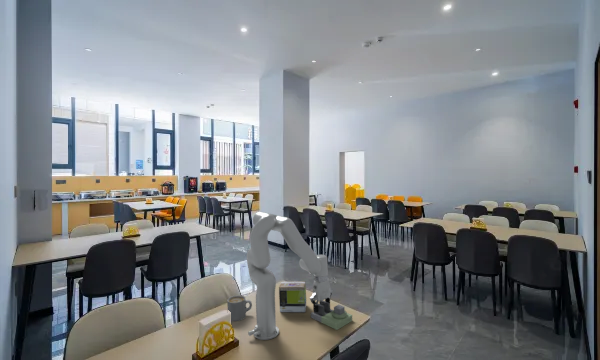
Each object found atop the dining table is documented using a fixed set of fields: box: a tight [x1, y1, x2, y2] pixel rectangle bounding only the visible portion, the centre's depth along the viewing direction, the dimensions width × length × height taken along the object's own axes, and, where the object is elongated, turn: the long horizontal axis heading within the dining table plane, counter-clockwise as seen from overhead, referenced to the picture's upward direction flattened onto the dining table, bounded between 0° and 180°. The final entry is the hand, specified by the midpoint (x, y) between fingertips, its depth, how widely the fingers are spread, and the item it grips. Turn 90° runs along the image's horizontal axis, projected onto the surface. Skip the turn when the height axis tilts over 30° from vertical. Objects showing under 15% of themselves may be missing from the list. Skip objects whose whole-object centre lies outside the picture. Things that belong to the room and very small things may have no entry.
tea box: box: [278, 280, 307, 313], centre depth 166 cm, size 15×10×15 cm, turn 84°
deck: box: [310, 304, 353, 331], centre depth 152 cm, size 13×18×8 cm
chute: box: [313, 300, 331, 316], centre depth 156 cm, size 6×7×7 cm
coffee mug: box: [226, 294, 253, 322], centre depth 158 cm, size 13×10×10 cm
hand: (321, 308), depth 156 cm, fingers open, 9 cm apart
